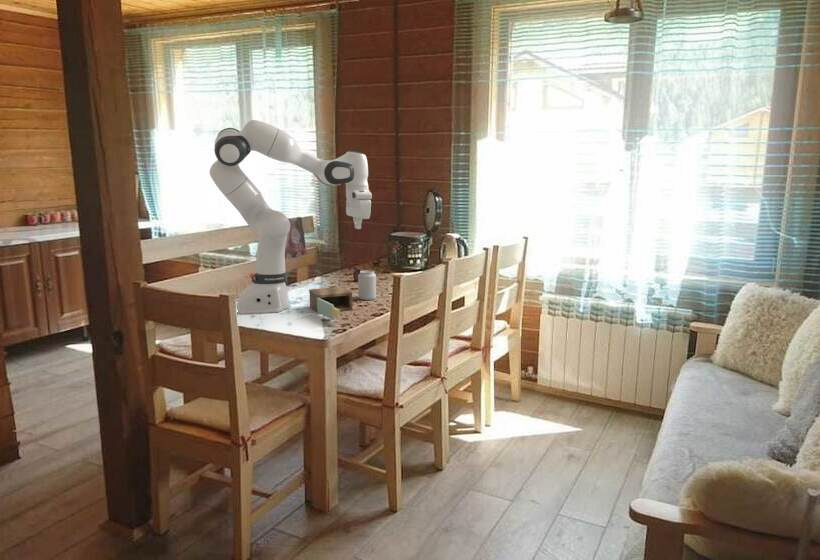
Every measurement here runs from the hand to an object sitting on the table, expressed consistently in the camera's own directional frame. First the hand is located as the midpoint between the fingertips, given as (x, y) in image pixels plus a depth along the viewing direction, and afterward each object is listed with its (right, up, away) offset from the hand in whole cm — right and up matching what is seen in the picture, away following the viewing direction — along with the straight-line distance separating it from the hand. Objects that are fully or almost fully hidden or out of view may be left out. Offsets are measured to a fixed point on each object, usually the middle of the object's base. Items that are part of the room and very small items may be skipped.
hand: (357, 228), depth 248 cm
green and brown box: (-11, -32, +1) cm, 33 cm away
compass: (-1, -23, +51) cm, 55 cm away
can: (+3, -29, +18) cm, 34 cm away
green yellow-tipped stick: (-10, -34, -17) cm, 39 cm away
